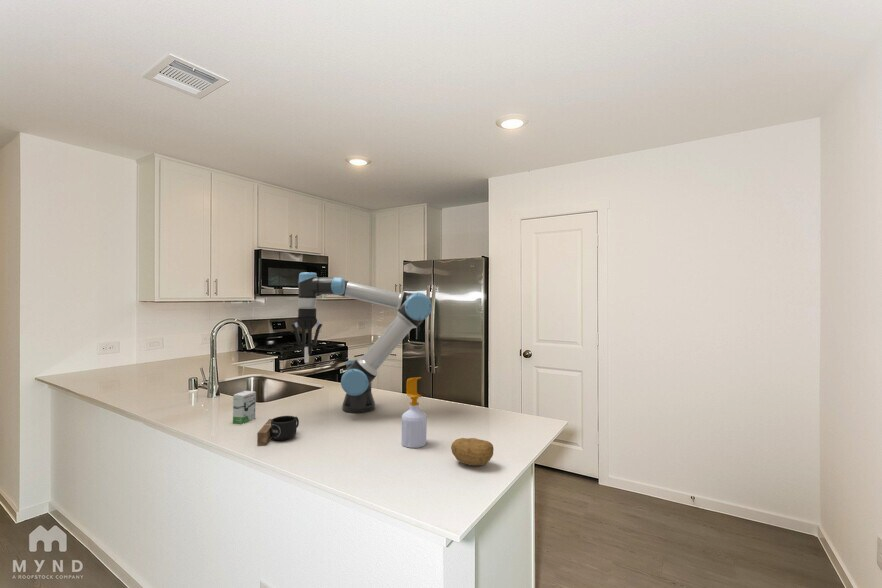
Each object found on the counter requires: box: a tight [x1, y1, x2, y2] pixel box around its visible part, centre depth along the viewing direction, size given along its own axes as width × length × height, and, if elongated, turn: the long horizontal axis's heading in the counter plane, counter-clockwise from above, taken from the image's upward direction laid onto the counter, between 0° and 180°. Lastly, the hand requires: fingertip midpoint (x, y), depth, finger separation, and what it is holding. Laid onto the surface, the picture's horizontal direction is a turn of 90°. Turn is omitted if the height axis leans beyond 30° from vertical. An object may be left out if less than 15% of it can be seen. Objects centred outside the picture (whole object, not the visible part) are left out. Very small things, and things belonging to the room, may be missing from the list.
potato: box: [450, 437, 494, 467], centre depth 132 cm, size 10×14×8 cm
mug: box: [271, 415, 300, 442], centre depth 154 cm, size 12×9×7 cm
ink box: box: [232, 390, 257, 425], centre depth 173 cm, size 9×5×12 cm, turn 168°
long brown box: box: [256, 418, 273, 446], centre depth 153 cm, size 3×16×5 cm, turn 9°
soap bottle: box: [401, 376, 428, 449], centre depth 149 cm, size 9×9×25 cm
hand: (306, 361), depth 178 cm, fingers closed
